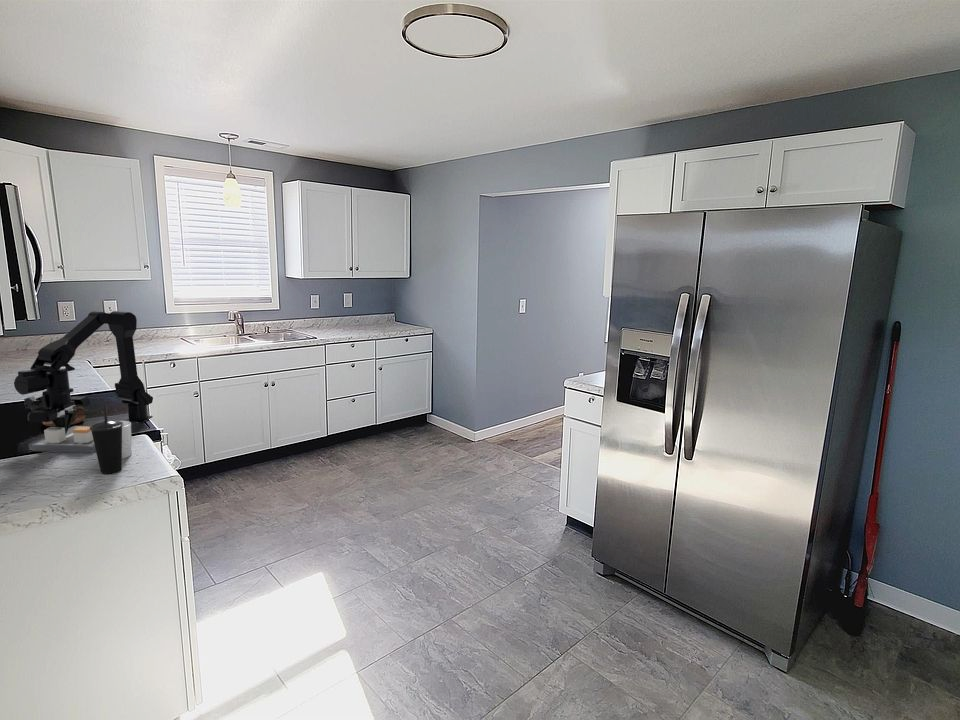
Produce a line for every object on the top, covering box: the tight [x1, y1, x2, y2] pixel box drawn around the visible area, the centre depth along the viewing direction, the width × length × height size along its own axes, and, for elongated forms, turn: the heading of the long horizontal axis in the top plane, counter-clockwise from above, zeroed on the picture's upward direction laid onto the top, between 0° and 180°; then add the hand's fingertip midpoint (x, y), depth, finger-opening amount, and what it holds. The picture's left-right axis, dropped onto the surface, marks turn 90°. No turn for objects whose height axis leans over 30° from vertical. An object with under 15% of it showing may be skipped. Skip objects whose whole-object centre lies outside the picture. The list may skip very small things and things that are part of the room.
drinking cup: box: [90, 402, 123, 476], centre depth 150 cm, size 8×8×20 cm
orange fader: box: [73, 427, 93, 443], centre depth 167 cm, size 3×4×4 cm
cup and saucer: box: [41, 406, 86, 428], centre depth 188 cm, size 12×12×6 cm
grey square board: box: [31, 425, 96, 454], centre depth 172 cm, size 18×18×2 cm
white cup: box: [119, 420, 133, 460], centre depth 161 cm, size 8×8×10 cm
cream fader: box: [43, 427, 66, 443], centre depth 166 cm, size 3×4×4 cm
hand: (63, 434), depth 169 cm, fingers closed
